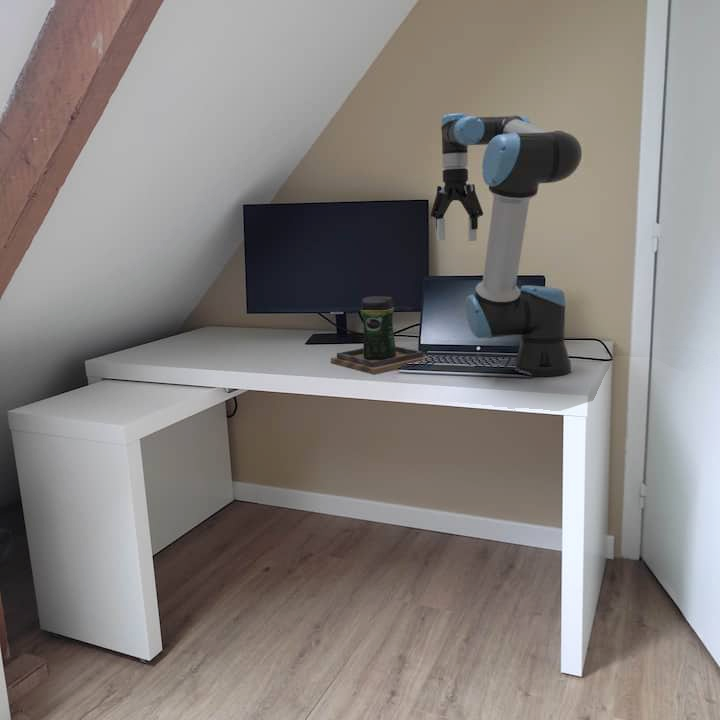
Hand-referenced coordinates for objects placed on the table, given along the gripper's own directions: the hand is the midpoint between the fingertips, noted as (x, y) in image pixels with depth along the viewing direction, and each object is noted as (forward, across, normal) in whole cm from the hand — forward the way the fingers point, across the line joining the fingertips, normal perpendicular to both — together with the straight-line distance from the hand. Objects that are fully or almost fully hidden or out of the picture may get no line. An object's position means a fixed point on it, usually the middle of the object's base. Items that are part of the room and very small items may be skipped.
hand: (456, 240), depth 223 cm
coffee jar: (+33, +7, +26) cm, 43 cm away
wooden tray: (+35, +7, +26) cm, 44 cm away
